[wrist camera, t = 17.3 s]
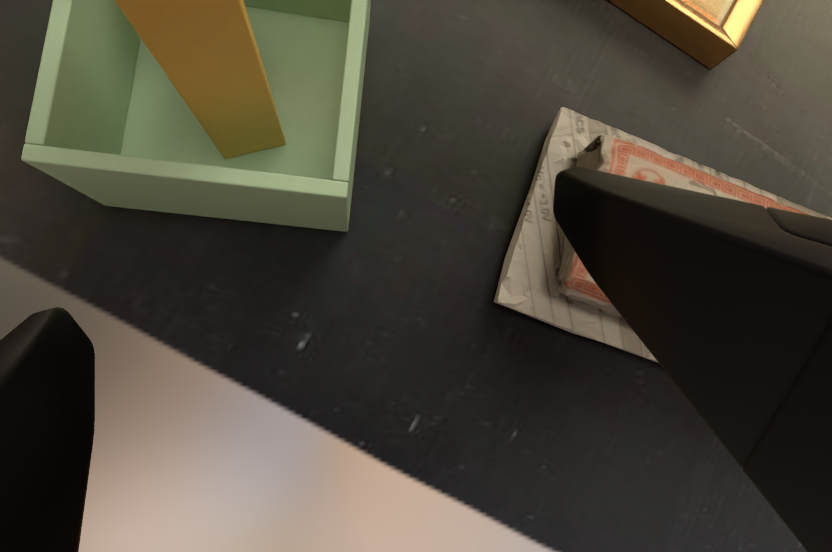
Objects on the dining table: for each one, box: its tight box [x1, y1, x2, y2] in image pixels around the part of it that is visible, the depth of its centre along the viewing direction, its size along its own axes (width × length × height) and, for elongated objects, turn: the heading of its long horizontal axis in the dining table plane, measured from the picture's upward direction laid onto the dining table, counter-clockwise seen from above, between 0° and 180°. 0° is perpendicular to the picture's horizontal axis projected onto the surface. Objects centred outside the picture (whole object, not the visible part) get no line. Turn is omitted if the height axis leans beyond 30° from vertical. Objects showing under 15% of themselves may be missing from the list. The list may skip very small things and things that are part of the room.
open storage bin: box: [21, 0, 371, 232], centre depth 20 cm, size 11×11×6 cm
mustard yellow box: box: [115, 0, 286, 159], centre depth 16 cm, size 5×3×13 cm, turn 17°
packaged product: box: [494, 107, 832, 363], centre depth 22 cm, size 18×5×10 cm
